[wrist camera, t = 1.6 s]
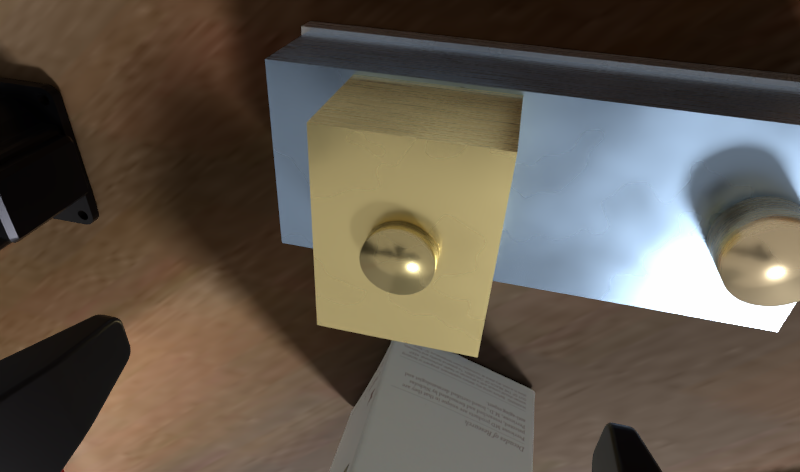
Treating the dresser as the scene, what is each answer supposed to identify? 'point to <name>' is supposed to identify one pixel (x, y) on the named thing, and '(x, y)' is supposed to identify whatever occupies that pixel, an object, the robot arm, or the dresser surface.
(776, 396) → the dresser surface
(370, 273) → the yellow knobbed box
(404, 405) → the supplement box
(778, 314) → the light blue box
